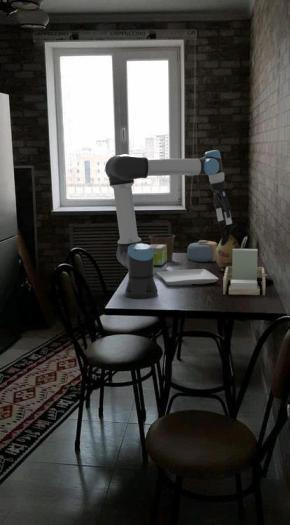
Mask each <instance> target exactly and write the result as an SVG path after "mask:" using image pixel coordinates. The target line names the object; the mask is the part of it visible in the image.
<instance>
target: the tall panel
mask: <svg viewBox="0 0 290 525" xmlns="http://www.w3.org/2000/svg"><path fill="white" fill-rule="evenodd" d="M257 267H258V248H241V249H233V250H232V280H257Z"/></svg>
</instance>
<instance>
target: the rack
mask: <svg viewBox="0 0 290 525" xmlns="http://www.w3.org/2000/svg"><path fill="white" fill-rule="evenodd" d="M257 277H262V281H261V289H262V291H261V292H262V296H266V274H265V267H264V266H257ZM222 280H223V282H222V286H223V287H222V291H223V292H222V294H223V295H226V293H227V288H228V284H229V283H228V282H229V281H231V280H232V267H226V270H225V271H224V276H223V278H222Z"/></svg>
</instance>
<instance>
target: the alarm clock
mask: <svg viewBox="0 0 290 525" xmlns="http://www.w3.org/2000/svg"><path fill="white" fill-rule="evenodd" d="M217 246H218V243H217V242H215V241H211V240H205V239H204V240H203V239H200V240H198V242H193V243H190V244H189V245H188V246H187V258H188V260H189V261H190V262H204V263H205V262H206V263H207V262H216V260H215V253H216V249H217Z"/></svg>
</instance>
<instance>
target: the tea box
mask: <svg viewBox="0 0 290 525" xmlns="http://www.w3.org/2000/svg"><path fill="white" fill-rule="evenodd" d="M149 245H150V246H151V247H152V248H153V253H154V256H153V269H154V274H157V273H156V272H162V271H167V269H168V262H167V245H157V244H151V243H150V244H149ZM157 275H158V274H157Z"/></svg>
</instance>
